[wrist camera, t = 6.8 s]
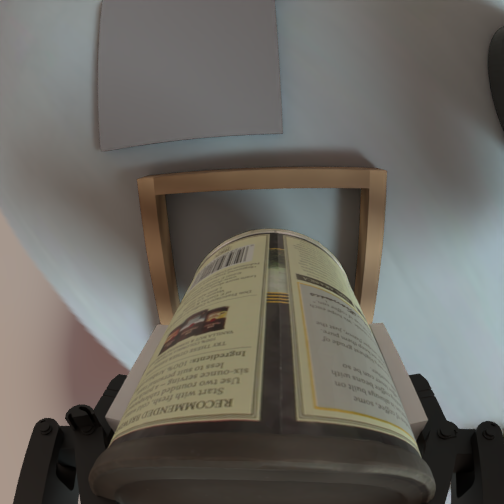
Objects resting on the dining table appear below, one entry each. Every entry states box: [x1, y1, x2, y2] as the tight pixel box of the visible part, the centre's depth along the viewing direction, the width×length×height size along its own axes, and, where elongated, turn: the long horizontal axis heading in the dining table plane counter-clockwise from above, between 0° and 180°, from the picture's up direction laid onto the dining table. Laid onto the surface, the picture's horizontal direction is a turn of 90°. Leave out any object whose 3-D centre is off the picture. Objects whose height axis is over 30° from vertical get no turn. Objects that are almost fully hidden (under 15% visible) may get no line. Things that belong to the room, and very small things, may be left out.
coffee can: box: [89, 229, 436, 504], centre depth 12 cm, size 10×10×14 cm
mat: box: [98, 0, 283, 152], centre depth 17 cm, size 13×13×1 cm
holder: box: [137, 167, 387, 325], centre depth 22 cm, size 16×16×2 cm
